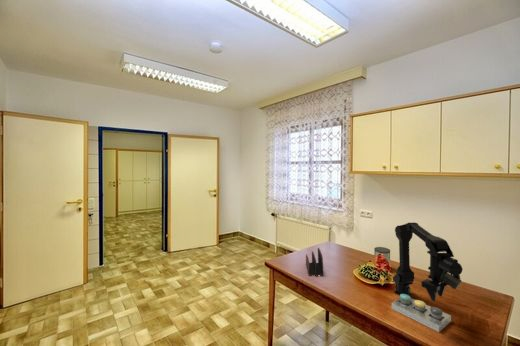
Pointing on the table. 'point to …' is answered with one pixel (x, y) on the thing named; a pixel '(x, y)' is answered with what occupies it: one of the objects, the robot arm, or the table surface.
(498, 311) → the table surface
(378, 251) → the coffee can
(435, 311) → the button black
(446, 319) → the console panel
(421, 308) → the button mustard
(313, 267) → the letter holder
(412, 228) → the robot arm
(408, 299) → the button teal
